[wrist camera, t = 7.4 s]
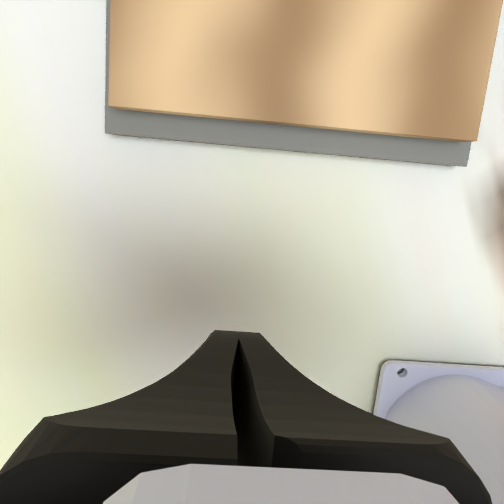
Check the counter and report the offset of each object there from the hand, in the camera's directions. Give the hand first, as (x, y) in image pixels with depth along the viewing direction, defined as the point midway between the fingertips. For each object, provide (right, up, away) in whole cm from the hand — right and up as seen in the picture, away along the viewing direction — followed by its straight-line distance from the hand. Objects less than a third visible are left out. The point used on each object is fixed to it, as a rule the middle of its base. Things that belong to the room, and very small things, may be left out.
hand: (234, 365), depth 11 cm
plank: (+3, +12, +6) cm, 14 cm away
